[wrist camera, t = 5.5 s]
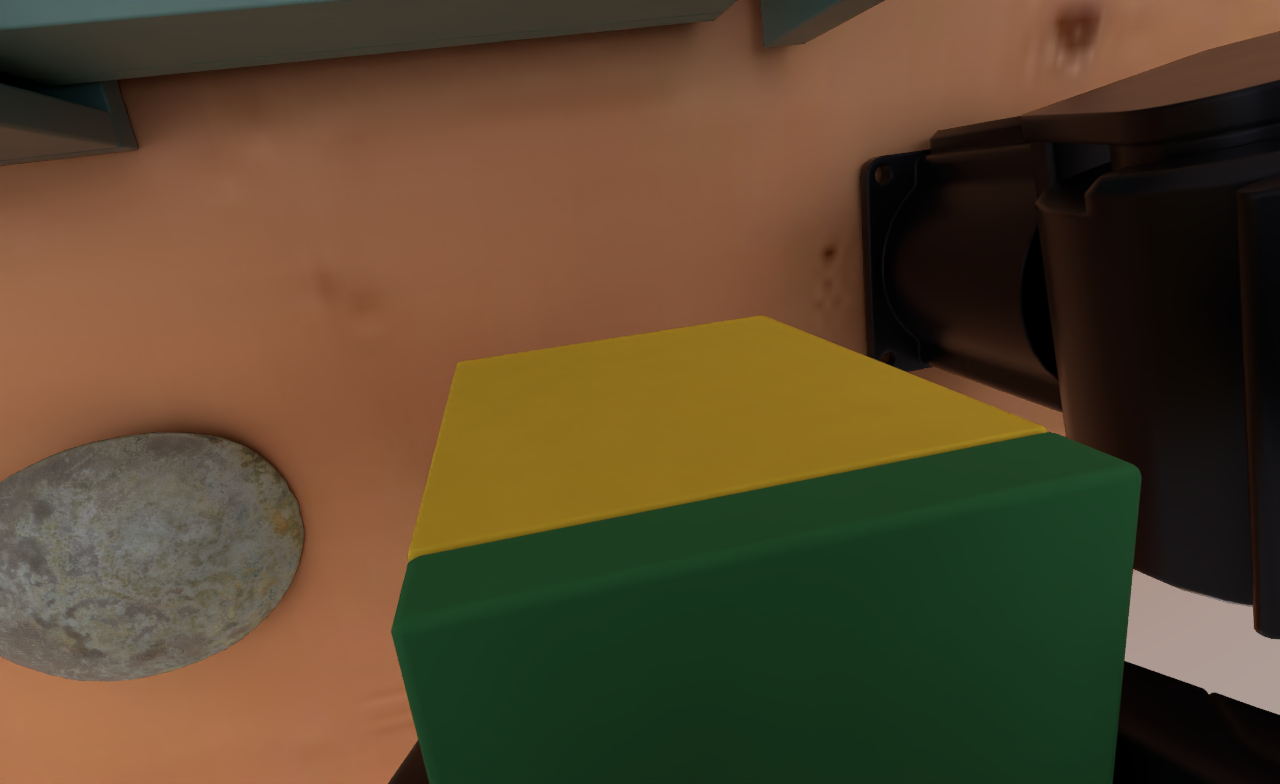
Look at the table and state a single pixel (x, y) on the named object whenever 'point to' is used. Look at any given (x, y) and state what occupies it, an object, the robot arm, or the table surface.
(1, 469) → the table surface
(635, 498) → the sponge
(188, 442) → the soupspoon
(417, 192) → the table surface
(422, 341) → the table surface
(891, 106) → the table surface
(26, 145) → the cabinet
